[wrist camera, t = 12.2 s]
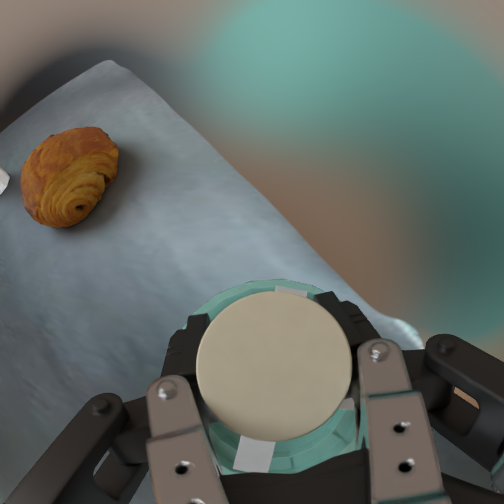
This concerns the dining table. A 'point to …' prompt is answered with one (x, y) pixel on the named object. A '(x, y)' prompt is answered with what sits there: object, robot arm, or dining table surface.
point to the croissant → (68, 175)
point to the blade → (273, 371)
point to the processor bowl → (292, 451)
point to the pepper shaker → (3, 180)
